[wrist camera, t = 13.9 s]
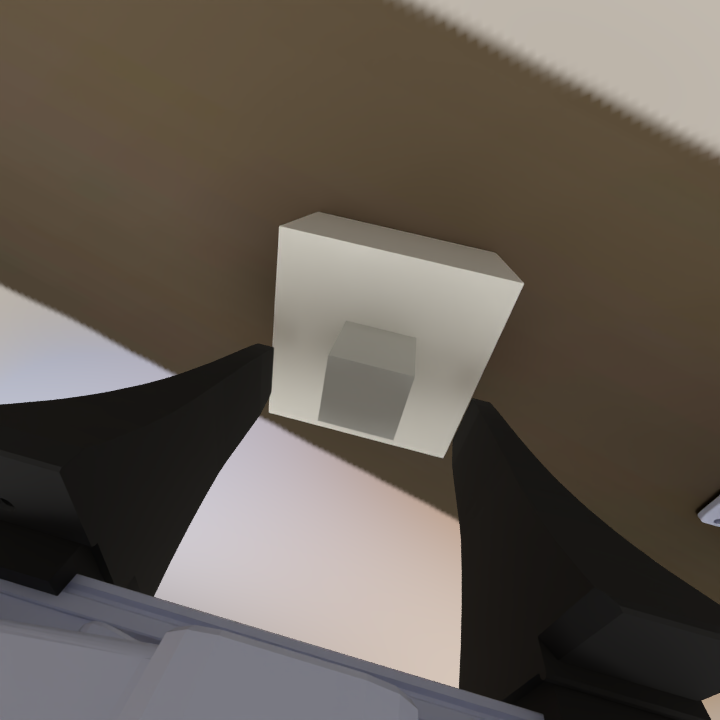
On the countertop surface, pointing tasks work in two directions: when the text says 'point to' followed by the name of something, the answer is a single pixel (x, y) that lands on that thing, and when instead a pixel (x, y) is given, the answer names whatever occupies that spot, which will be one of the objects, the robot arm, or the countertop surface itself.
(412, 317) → the grey knobbed block
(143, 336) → the countertop surface
